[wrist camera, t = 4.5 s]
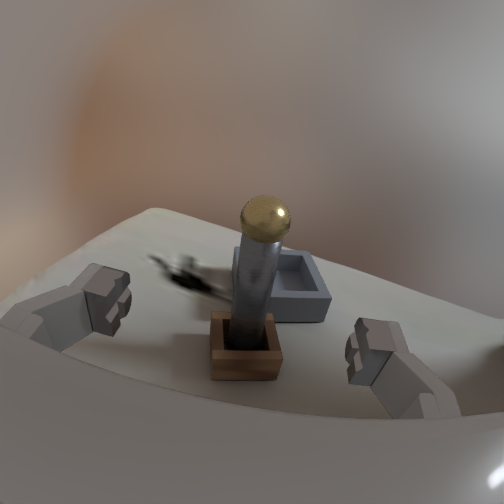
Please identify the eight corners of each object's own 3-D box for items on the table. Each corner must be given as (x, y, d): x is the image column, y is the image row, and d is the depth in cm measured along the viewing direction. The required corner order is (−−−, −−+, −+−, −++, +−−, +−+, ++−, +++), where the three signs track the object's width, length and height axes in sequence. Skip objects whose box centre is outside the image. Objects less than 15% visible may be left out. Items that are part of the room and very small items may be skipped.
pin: (257, 342, 31) (288, 190, 23) (262, 369, 28) (300, 209, 20) (221, 341, 31) (241, 185, 23) (223, 369, 28) (245, 204, 20)
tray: (303, 272, 44) (308, 251, 42) (323, 321, 35) (331, 298, 34) (231, 269, 42) (234, 246, 40) (237, 320, 34) (241, 295, 32)
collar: (267, 334, 32) (272, 313, 31) (276, 379, 27) (283, 359, 26) (209, 332, 31) (211, 311, 30) (211, 379, 26) (212, 358, 25)
